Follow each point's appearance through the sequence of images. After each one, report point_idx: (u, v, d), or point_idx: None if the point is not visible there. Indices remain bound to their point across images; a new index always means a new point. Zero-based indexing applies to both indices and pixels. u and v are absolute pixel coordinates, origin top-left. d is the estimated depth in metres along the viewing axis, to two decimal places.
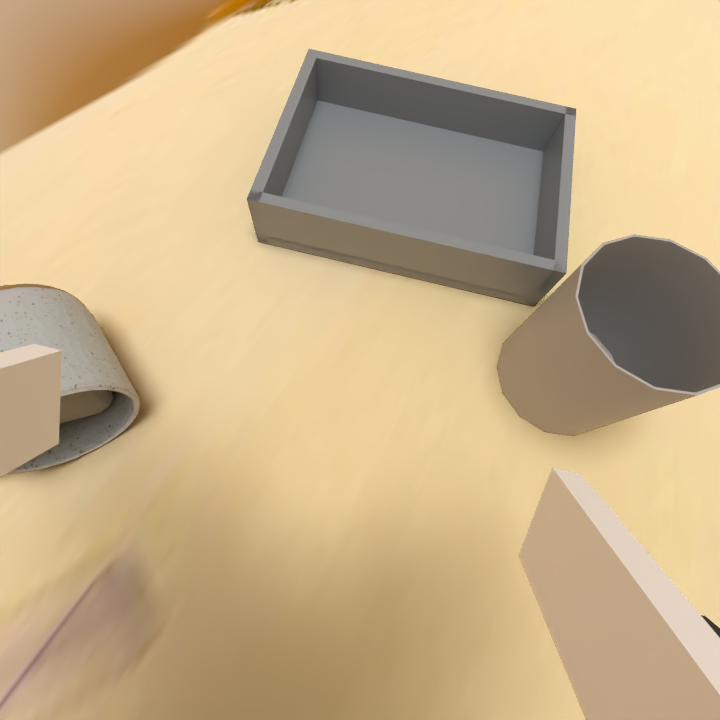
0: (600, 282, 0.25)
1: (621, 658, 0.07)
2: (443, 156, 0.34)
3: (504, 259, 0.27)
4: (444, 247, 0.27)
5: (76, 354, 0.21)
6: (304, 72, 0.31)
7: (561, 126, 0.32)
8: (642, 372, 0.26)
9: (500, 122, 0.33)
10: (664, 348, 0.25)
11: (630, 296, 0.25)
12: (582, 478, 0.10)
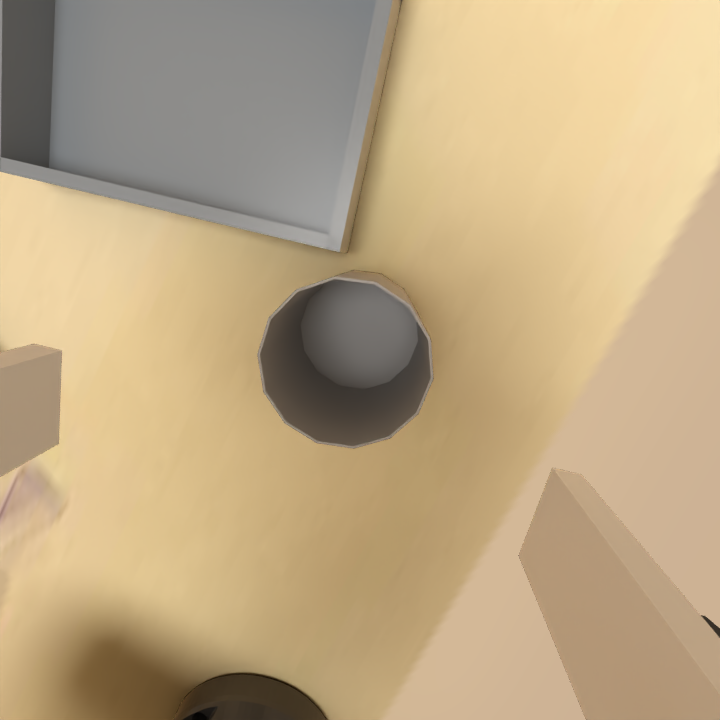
0: None
1: (621, 658, 0.07)
2: (240, 27, 0.25)
3: None
4: (208, 220, 0.24)
5: None
6: None
7: None
8: (419, 349, 0.27)
9: None
10: (422, 344, 0.24)
11: None
12: (582, 478, 0.10)
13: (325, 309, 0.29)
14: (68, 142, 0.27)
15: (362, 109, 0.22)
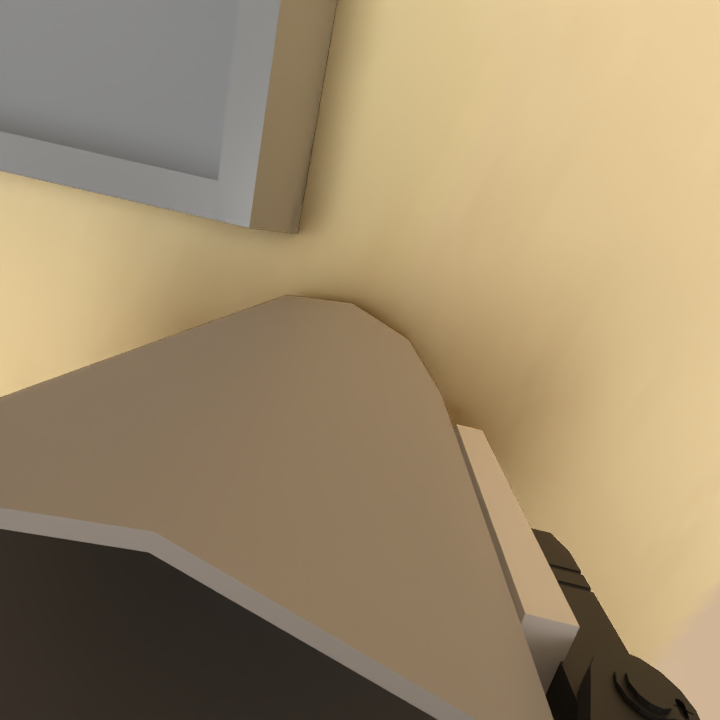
0: None
1: None
2: None
3: None
4: None
5: None
6: None
7: None
8: None
9: None
10: None
11: None
12: (481, 432, 0.12)
13: None
14: None
15: None
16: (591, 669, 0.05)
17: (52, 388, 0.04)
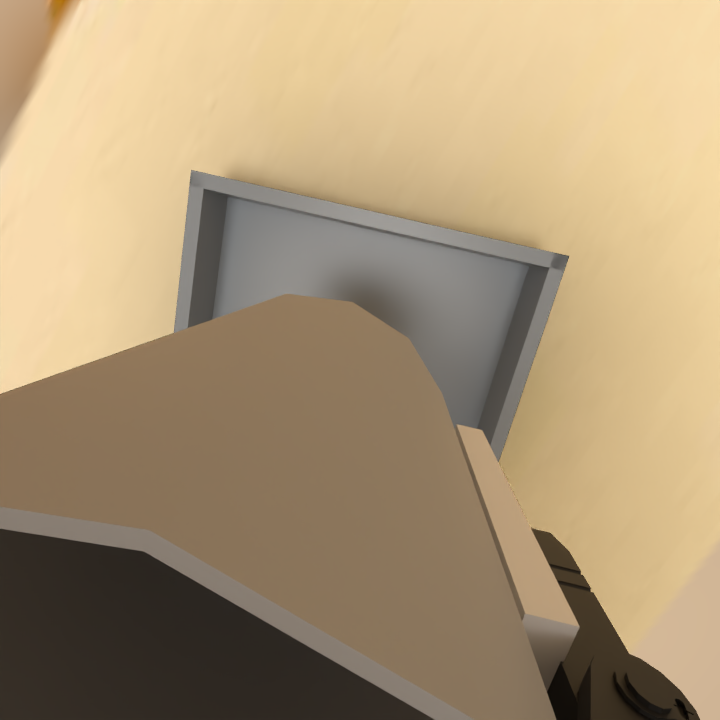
0: None
1: None
2: (391, 284, 0.27)
3: None
4: None
5: None
6: (192, 220, 0.24)
7: (541, 280, 0.23)
8: None
9: (466, 250, 0.25)
10: None
11: None
12: (481, 432, 0.12)
13: None
14: None
15: (518, 385, 0.24)
16: (591, 669, 0.05)
17: (48, 385, 0.03)
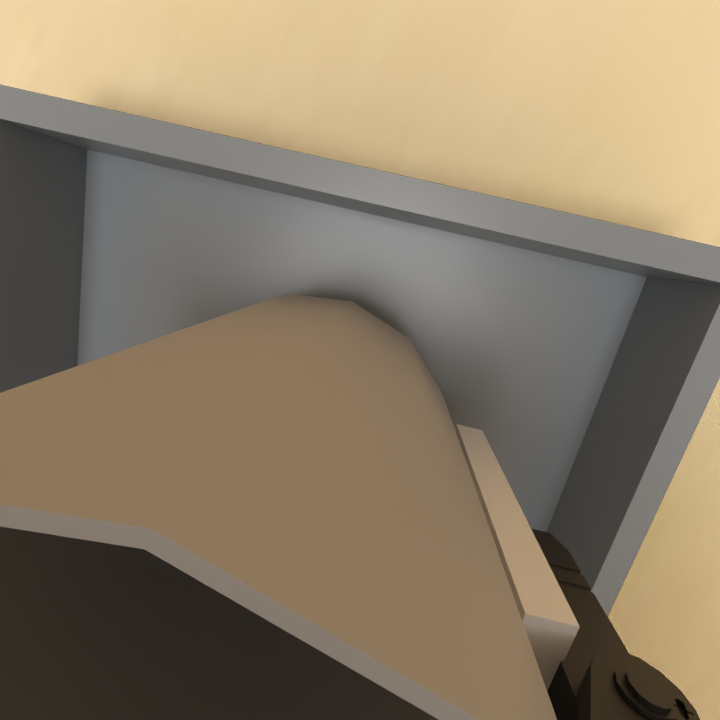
0: None
1: None
2: (389, 309, 0.15)
3: None
4: None
5: None
6: None
7: (702, 310, 0.11)
8: None
9: (536, 247, 0.12)
10: None
11: None
12: (481, 432, 0.12)
13: None
14: None
15: (640, 516, 0.12)
16: (591, 669, 0.05)
17: (48, 384, 0.03)
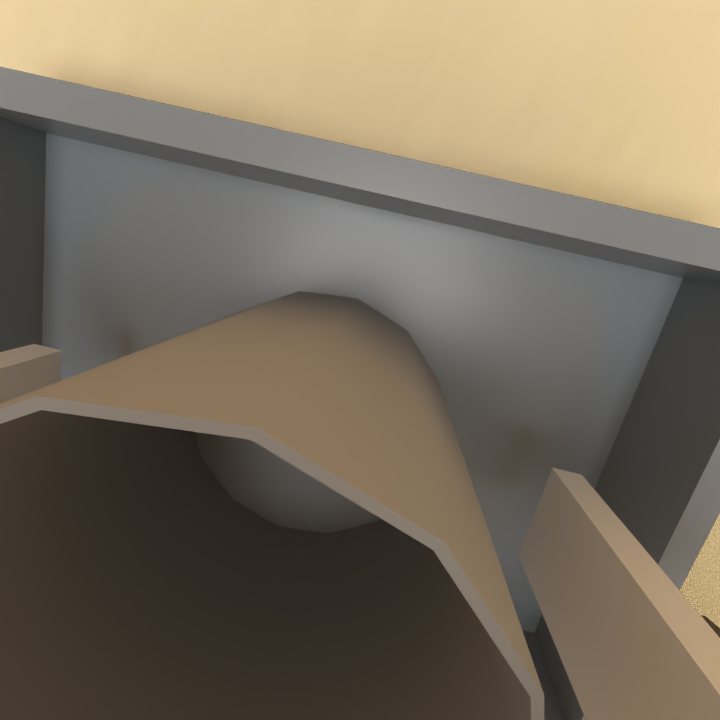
0: None
1: (621, 658, 0.07)
2: (389, 314, 0.13)
3: None
4: None
5: None
6: None
7: None
8: None
9: (560, 243, 0.11)
10: None
11: None
12: (582, 478, 0.10)
13: None
14: None
15: (680, 556, 0.11)
16: None
17: (151, 356, 0.05)
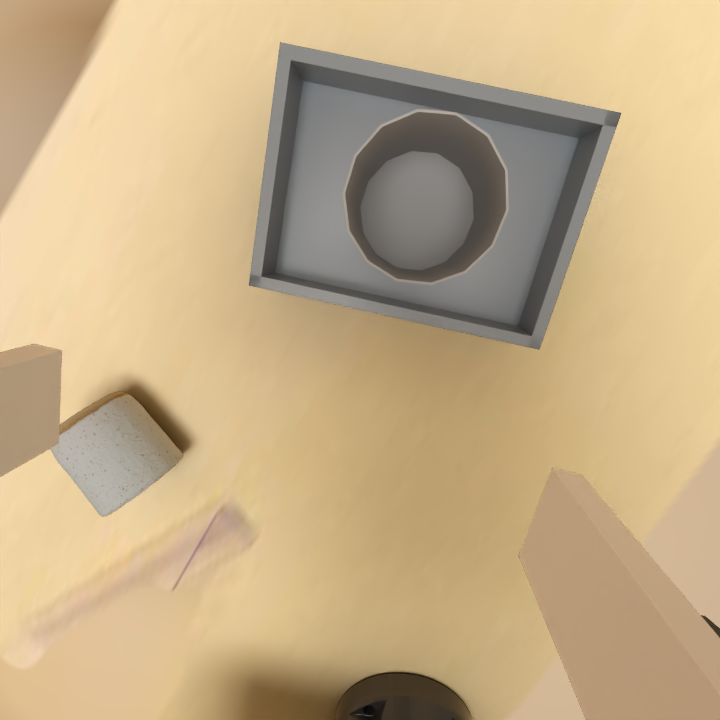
0: (428, 134, 0.24)
1: (621, 658, 0.07)
2: None
3: None
4: None
5: (134, 463, 0.33)
6: (279, 91, 0.26)
7: (594, 140, 0.26)
8: (478, 219, 0.28)
9: (524, 118, 0.27)
10: (485, 204, 0.26)
11: (460, 147, 0.25)
12: (582, 478, 0.10)
13: (384, 190, 0.30)
14: (294, 251, 0.32)
15: (571, 240, 0.27)
16: None
17: None
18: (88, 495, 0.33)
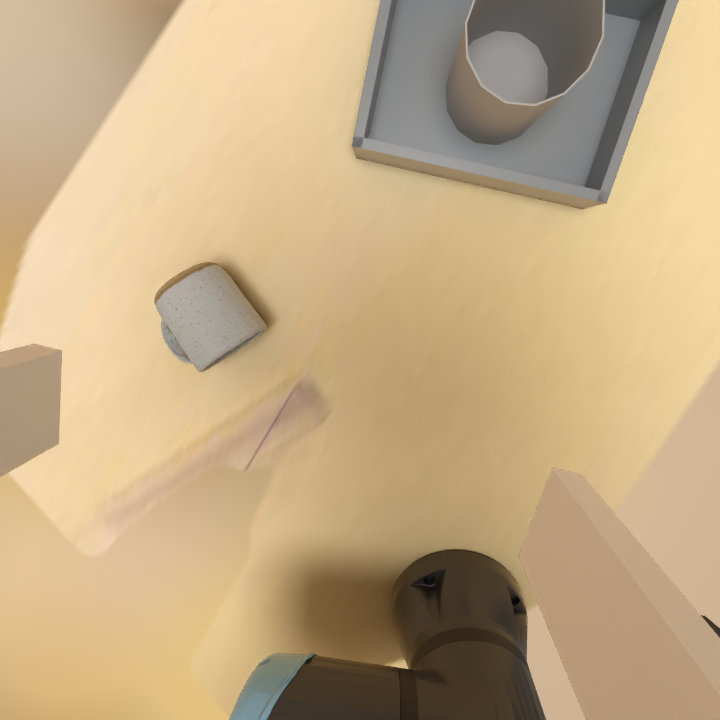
0: None
1: (621, 658, 0.07)
2: None
3: (557, 192, 0.34)
4: (509, 181, 0.34)
5: (233, 317, 0.37)
6: None
7: (660, 10, 0.31)
8: (556, 84, 0.32)
9: None
10: (568, 60, 0.30)
11: (551, 7, 0.29)
12: (582, 478, 0.10)
13: None
14: (384, 127, 0.37)
15: (637, 100, 0.32)
16: None
17: None
18: (192, 345, 0.37)
